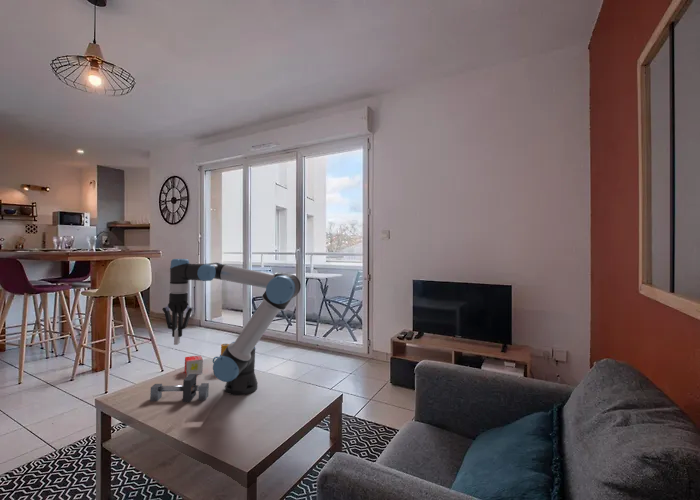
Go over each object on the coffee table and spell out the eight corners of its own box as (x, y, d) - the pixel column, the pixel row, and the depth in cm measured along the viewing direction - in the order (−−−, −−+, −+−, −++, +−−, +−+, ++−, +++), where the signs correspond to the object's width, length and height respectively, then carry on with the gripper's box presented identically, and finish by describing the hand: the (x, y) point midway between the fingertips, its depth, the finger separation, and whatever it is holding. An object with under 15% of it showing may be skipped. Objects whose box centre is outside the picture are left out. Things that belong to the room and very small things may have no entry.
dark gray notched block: (195, 394, 150) (196, 373, 150) (189, 402, 143) (190, 380, 143) (188, 394, 150) (189, 373, 150) (182, 402, 142) (183, 380, 142)
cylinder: (226, 376, 176) (227, 348, 176) (208, 374, 178) (210, 346, 178) (238, 368, 188) (239, 342, 188) (222, 366, 190) (223, 340, 190)
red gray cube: (186, 376, 174) (186, 361, 174) (184, 371, 181) (184, 357, 181) (202, 373, 179) (203, 359, 179) (200, 369, 185) (200, 355, 185)
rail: (209, 397, 151) (209, 381, 151) (204, 405, 144) (204, 388, 144) (155, 398, 148) (156, 382, 148) (148, 406, 141) (149, 389, 141)
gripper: (196, 291, 155) (194, 341, 155) (167, 291, 153) (165, 341, 153) (190, 293, 147) (188, 346, 147) (159, 293, 146) (157, 346, 146)
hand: (176, 343), depth 150 cm, fingers closed
